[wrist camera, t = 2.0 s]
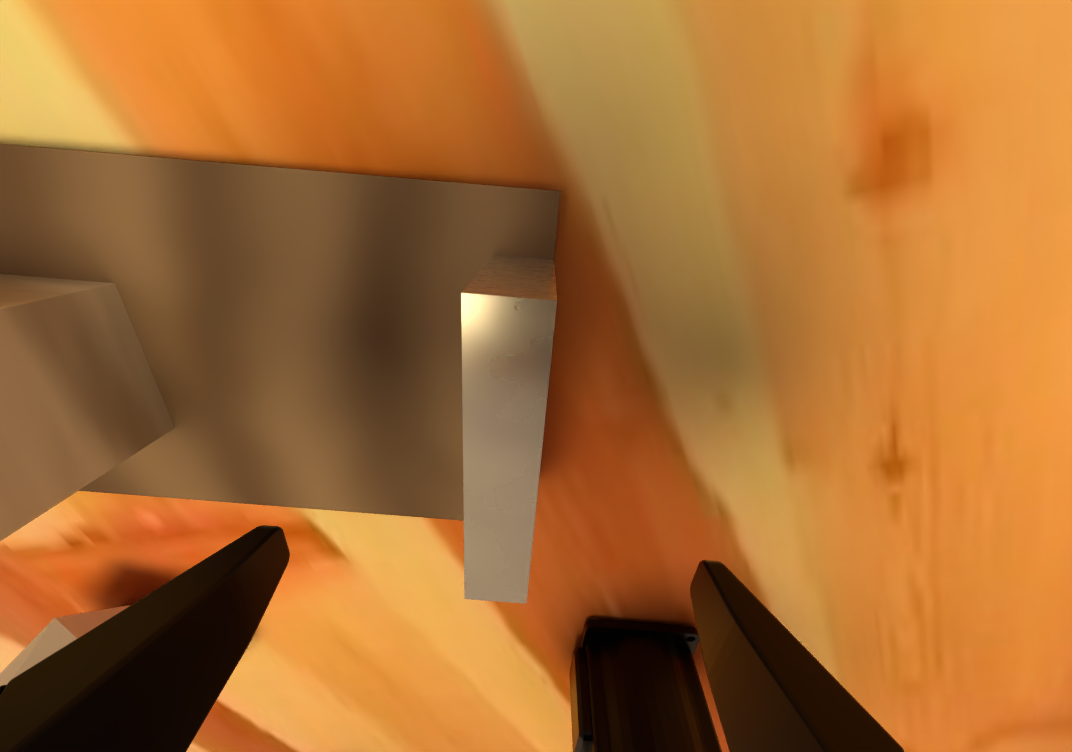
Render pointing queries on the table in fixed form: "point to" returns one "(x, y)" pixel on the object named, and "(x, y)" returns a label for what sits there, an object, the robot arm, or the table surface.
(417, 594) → the table surface
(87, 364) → the cube
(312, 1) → the table surface
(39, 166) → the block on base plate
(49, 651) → the die
